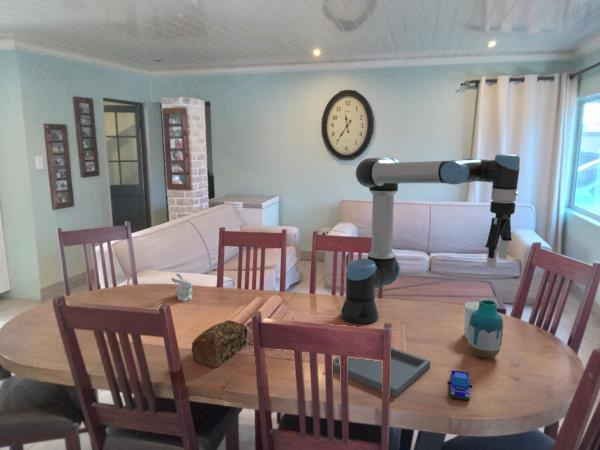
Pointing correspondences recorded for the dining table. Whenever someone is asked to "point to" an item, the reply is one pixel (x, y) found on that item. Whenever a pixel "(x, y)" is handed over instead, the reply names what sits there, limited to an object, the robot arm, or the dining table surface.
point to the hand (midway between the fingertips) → (496, 262)
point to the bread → (219, 343)
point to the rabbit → (183, 288)
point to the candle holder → (469, 315)
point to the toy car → (460, 385)
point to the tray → (402, 371)
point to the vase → (485, 330)
